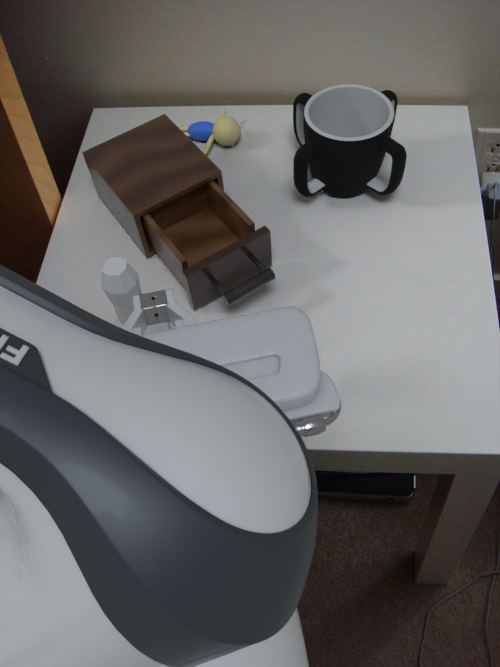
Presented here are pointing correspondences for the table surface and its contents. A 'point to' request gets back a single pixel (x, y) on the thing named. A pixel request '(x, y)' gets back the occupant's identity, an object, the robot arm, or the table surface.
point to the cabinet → (147, 173)
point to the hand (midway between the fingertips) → (153, 297)
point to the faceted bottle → (124, 291)
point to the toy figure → (214, 131)
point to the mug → (346, 141)
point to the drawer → (210, 245)
